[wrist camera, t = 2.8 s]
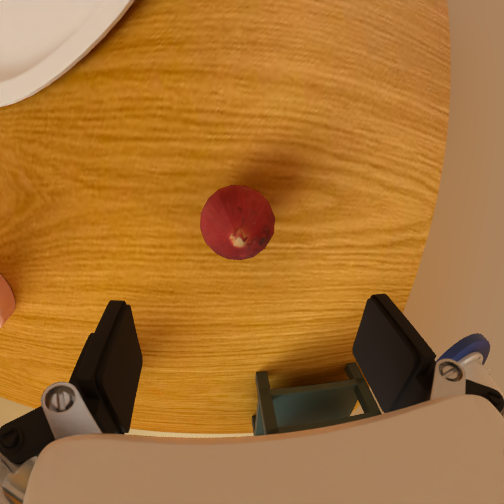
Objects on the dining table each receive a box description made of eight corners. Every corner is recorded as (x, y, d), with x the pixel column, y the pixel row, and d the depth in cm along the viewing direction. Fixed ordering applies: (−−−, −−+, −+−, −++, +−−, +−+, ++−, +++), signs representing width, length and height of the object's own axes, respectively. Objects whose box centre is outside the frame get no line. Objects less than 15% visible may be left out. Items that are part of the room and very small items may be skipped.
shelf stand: (355, 362, 37) (383, 416, 28) (336, 410, 42) (353, 459, 33) (256, 372, 35) (266, 437, 26) (251, 420, 40) (259, 474, 31)
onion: (278, 196, 26) (301, 224, 19) (248, 248, 28) (259, 293, 21) (220, 167, 25) (220, 184, 17) (192, 223, 26) (183, 262, 19)
